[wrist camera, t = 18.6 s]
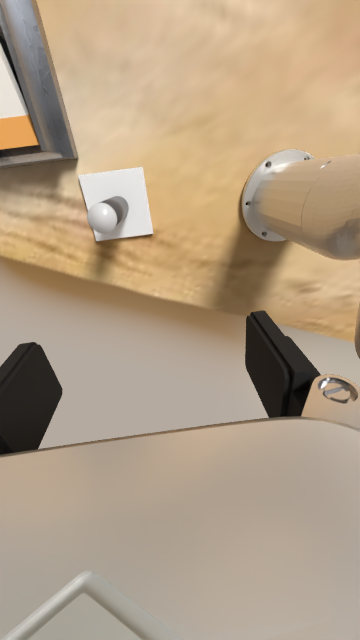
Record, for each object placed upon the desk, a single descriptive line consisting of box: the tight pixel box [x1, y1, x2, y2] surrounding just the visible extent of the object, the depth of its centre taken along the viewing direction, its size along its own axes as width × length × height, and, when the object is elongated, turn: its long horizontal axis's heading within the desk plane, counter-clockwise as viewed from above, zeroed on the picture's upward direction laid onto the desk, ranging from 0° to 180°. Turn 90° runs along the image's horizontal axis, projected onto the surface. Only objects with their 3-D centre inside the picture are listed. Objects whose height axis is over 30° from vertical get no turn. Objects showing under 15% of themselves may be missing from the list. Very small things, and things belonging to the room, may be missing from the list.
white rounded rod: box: [87, 196, 129, 234], centre depth 31 cm, size 3×3×12 cm
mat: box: [78, 167, 153, 241], centre depth 37 cm, size 9×9×1 cm
